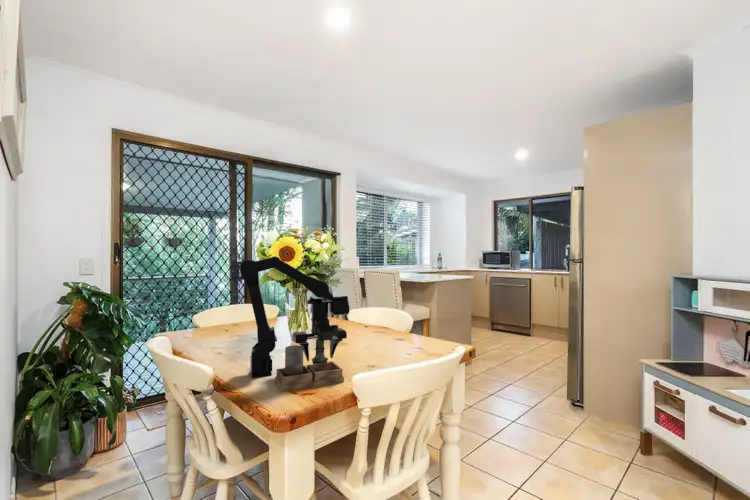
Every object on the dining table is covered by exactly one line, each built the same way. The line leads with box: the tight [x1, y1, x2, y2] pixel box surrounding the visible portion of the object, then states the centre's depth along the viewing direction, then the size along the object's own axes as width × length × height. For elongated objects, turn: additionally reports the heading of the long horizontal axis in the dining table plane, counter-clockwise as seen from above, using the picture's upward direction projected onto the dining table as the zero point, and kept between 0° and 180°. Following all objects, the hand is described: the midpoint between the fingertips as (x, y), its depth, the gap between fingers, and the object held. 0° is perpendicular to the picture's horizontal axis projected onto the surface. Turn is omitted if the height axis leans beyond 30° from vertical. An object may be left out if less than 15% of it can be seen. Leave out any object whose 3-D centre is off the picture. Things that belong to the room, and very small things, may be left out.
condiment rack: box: [274, 344, 345, 393], centre depth 122 cm, size 20×10×12 cm, turn 116°
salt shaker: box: [311, 338, 329, 364], centre depth 135 cm, size 6×6×12 cm
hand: (319, 359), depth 135 cm, fingers closed on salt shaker, 8 cm apart
